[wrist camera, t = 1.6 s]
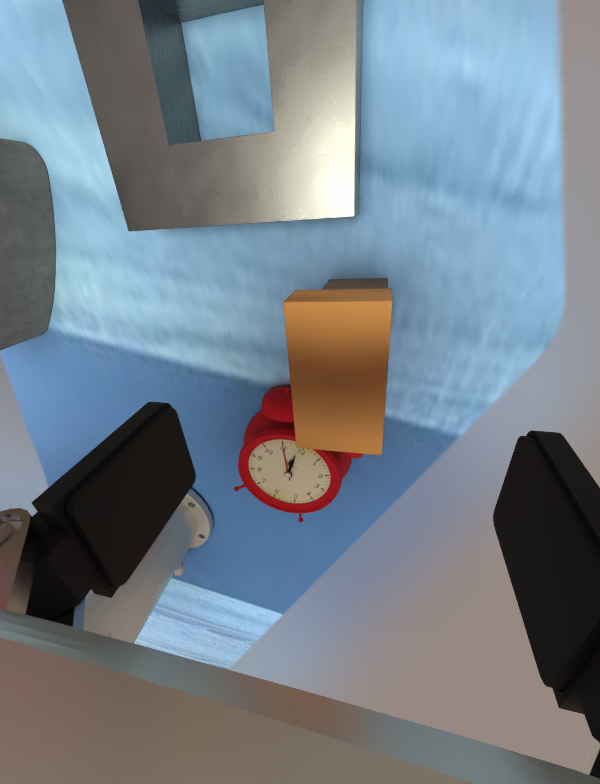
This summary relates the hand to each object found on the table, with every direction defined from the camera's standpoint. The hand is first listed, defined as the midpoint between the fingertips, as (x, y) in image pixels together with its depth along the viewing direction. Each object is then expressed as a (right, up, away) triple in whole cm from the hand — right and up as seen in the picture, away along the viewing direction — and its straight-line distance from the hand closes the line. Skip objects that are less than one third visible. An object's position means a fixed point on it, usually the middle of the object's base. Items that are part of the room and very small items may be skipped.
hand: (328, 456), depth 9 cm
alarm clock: (0, -2, +22) cm, 22 cm away
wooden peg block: (+3, +8, +15) cm, 17 cm away
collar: (-4, +20, +10) cm, 22 cm away
